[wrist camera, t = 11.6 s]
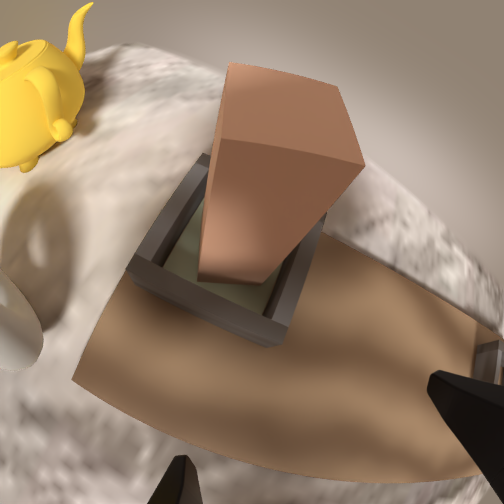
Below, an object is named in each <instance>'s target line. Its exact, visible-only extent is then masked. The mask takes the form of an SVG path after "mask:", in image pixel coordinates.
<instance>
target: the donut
mask: <svg viewBox="0 0 504 504" xmlns="http://www.w3.org/2000/svg"><path fill="white" fill-rule="evenodd" d="M43 340H44V339H43V334H42V329H41V325H40V322H39V320H38V318H37V316H36V314H35V312H34V310H33V308H32V307H31V305H30V304H29V302H28V301H27V300H26V298H25V297H24V295H23V294H22V293H21V292H20V290H19V289H18V288H17V287H16V285H15V284H14V283H13V282H12V281H11V280H10V279H9V277H8V276H7V275H6V274H5V273H4V272H3V271H2V270H1V269H0V369H3V370H7V371H18V370H22V369H26V368H28V367H31V366H32V365H33V364H34V363H35V362H36V361H37V359H38V357H39V355H40V352H41V350H42V348H43Z"/></svg>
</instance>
